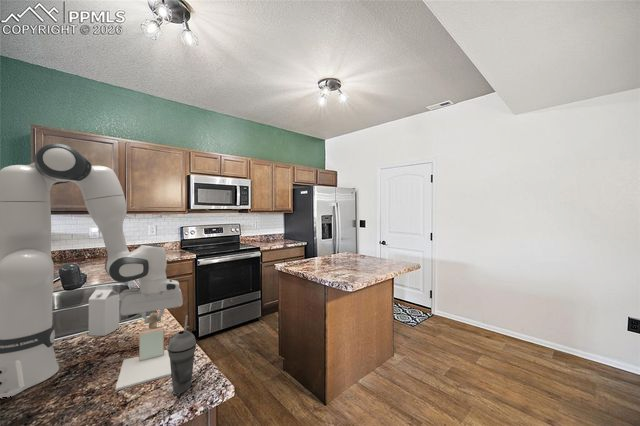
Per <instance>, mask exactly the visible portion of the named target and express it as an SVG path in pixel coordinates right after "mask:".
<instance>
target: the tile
mask: <svg viewBox="0 0 640 426" xmlns="http://www.w3.org/2000/svg"><path fill="white" fill-rule="evenodd" d="M138 335H139V336H138V345H139V346H138V355H139V361H142V360H146V359H151V358H155V357H159V356H163V355H164V350H165V327H163V326H162V328H158V329H153V330H147V331H143V330H142V331H139V333H138Z"/></svg>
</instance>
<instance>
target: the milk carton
mask: <svg viewBox="0 0 640 426" xmlns="http://www.w3.org/2000/svg"><path fill="white" fill-rule="evenodd" d="M113 288H114V286H96V287H95V290H94V291H93V293H92V294H91V296H89V298H88V336H90V337H93V336H94V337H105V336H107V335H109V334H112V333H113V332H115V331H117V330H119V329H120V299H119V295H120V292H117V291H116V290H114V289H113ZM118 328H119V329H118ZM116 329H117V330H116Z"/></svg>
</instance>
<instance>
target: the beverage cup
mask: <svg viewBox="0 0 640 426" xmlns="http://www.w3.org/2000/svg"><path fill="white" fill-rule="evenodd" d="M188 317H189V315H185V319H184V320H185V321H184V328H183V330H180V331H178V332H176V333H175V334H174V335H173V336H172V337H171V338H170V340H169V342H168V346H167V350H168V354H169V358H170V365H171V375H170V377H171V384H172V388H173V389H172V390H173V392H175V393H183V392H185V391H187V390H189V389H190V388H191V386H192V380H193V370H194V362H195V351H196V348H197V347H196V346H197V341H196V337H195V335H194V334H193V333H192V331H189V330H187V326H188Z"/></svg>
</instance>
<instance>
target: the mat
mask: <svg viewBox="0 0 640 426" xmlns="http://www.w3.org/2000/svg"><path fill="white" fill-rule="evenodd" d="M169 376H170V377H171V365H170V358H169V354H168V349H164V355H163V356H159V357H155V358H151V359H146V360H142V361H139V356H138V355H137V356H134V357H130V358H126V359H123V361H122V365H121V367H120V372H119V374H118V378H117V381H116V385H115V390H114V391H120V390H123V389H127V388H130V387H135V386H137V385H141V384H145V383H148V382H152V381H156V380H158V379H163V378H167V377H169Z"/></svg>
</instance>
